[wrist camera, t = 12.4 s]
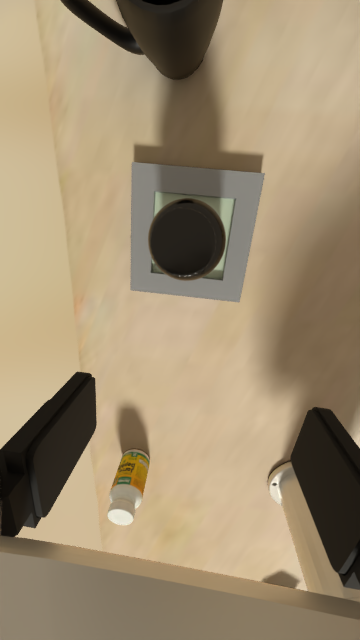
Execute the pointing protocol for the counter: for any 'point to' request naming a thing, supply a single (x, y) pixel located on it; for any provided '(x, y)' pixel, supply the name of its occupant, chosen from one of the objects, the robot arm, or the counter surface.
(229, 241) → the picture frame
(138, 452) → the supplement bottle
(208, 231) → the supplement bottle
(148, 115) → the counter surface
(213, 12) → the mug
